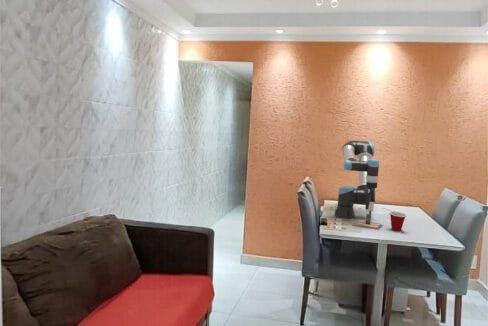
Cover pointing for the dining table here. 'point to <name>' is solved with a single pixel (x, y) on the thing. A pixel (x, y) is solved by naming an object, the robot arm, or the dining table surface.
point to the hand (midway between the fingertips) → (369, 212)
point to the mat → (369, 228)
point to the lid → (368, 222)
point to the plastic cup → (397, 220)
